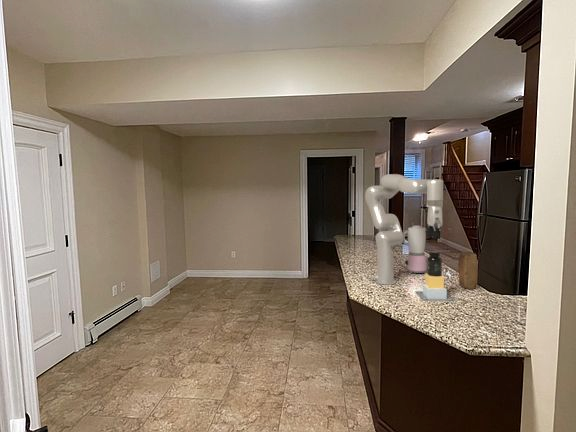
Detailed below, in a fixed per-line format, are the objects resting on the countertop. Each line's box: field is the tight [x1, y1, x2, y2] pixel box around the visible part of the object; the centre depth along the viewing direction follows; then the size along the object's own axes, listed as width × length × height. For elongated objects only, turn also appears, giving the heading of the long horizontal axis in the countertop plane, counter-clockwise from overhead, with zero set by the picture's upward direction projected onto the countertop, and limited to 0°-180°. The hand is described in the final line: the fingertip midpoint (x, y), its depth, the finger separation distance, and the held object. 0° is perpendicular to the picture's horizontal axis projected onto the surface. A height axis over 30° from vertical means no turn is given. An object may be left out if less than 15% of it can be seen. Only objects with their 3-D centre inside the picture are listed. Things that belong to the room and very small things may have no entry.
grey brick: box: [422, 283, 448, 299], centre depth 170 cm, size 9×9×5 cm
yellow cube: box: [424, 272, 445, 289], centre depth 169 cm, size 7×7×6 cm
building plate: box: [414, 290, 457, 302], centre depth 170 cm, size 16×16×2 cm
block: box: [457, 251, 478, 290], centre depth 188 cm, size 11×8×20 cm
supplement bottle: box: [426, 250, 443, 276], centre depth 169 cm, size 7×7×12 cm
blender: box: [401, 225, 428, 275], centre depth 225 cm, size 16×12×32 cm
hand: (433, 237), depth 169 cm, fingers open, 9 cm apart
